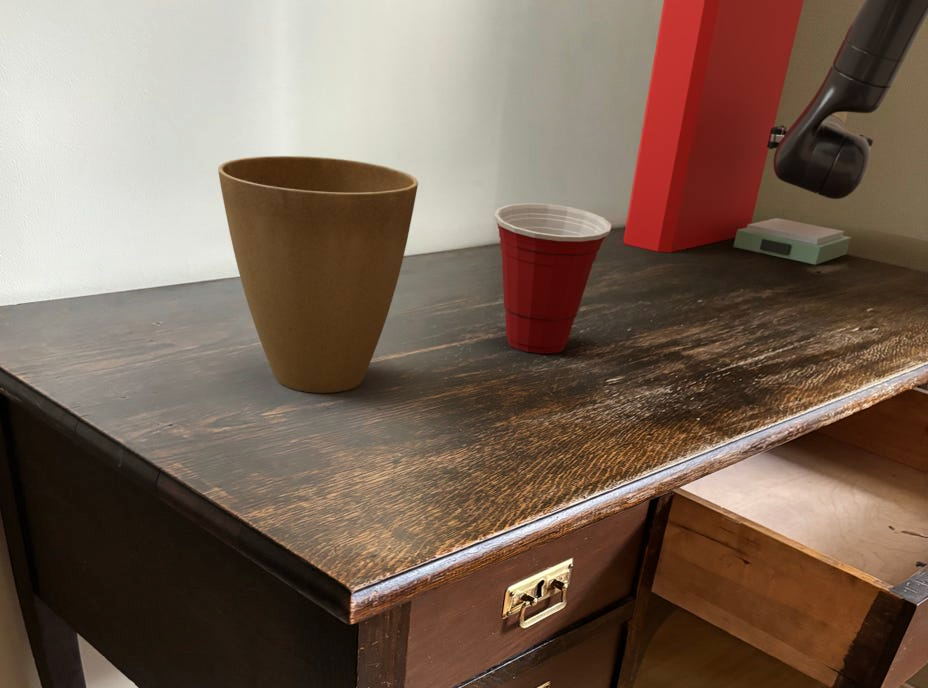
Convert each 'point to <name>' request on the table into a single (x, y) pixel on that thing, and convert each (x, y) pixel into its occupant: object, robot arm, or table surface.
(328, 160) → the plant pot
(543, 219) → the plastic cup
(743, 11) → the book
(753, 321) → the table surface
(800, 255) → the scale
